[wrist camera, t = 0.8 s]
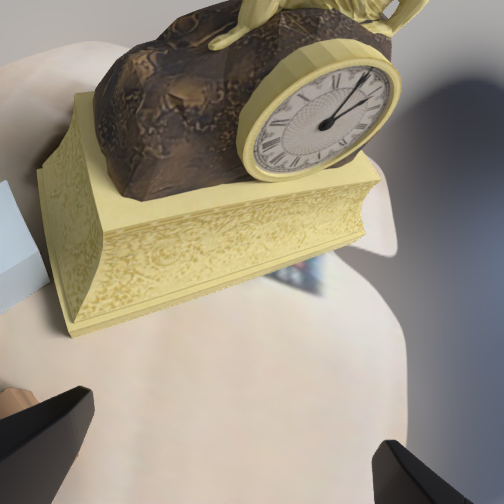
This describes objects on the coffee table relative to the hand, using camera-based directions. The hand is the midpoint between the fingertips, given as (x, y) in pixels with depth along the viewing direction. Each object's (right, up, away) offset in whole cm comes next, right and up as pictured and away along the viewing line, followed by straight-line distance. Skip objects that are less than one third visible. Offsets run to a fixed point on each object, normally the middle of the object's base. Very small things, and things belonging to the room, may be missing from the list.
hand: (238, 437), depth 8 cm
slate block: (-17, +4, +10) cm, 20 cm away
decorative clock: (-3, +8, +20) cm, 22 cm away
